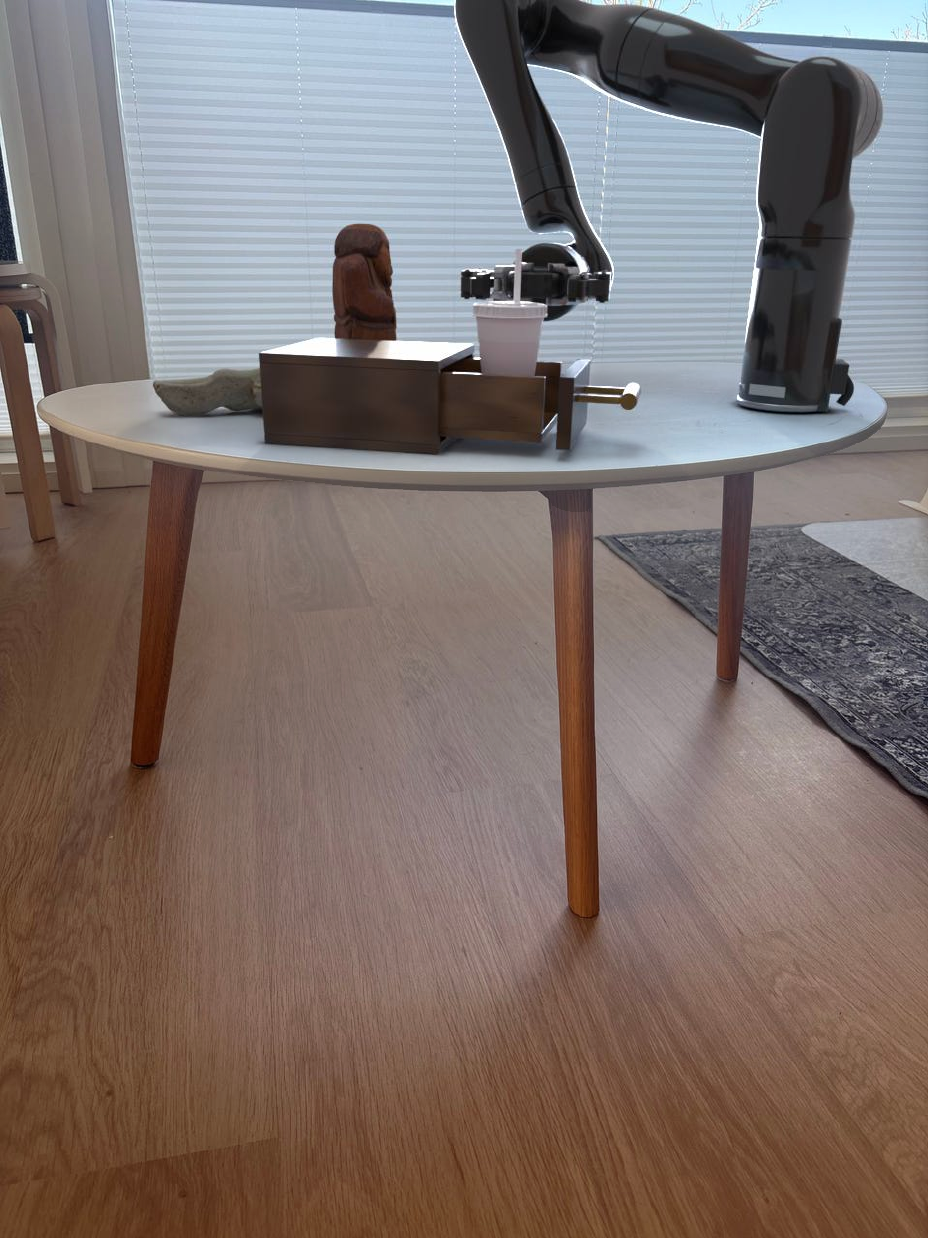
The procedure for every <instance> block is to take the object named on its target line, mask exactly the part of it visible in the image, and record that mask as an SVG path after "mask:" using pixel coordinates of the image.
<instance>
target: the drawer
mask: <svg viewBox="0 0 928 1238" xmlns="http://www.w3.org/2000/svg"><path fill="white" fill-rule="evenodd" d="M562 367H563V361H555V360H553V361H552V360H537V363H536V369H535V376H525V375H504V374H483V373H481V363H480V357H474V358H463V359H461V360H459V361H457V362H455V363H453V364H451V365H449V366H447V367H445V368H443V369H441V370H440V371H441V384H440V437H450V438H457V439H466V440H467V439H468V440H482V441H483V440H487V441H498V442H499V441H501V442H514V443H515V442H516V443H532V444H541V443H542V442H543V441H544V440H545V439H546V437H547V436H548V435H549V433H550V432H551V431H552V429H553V428H554V427H555V425H556V435H555V450H557V451H571V450H572V448H573V447H574V444H575V443H576V442H577V440H578V438H579V436H580V435H581V433H582V431H583V430H584V428H585V426H586V424H587V419H588V403H589V404H604V405H605V404H608V405H620V407H621V408H622V409H623V410H626V411H631V410H633V409H635V408H636V407H637V404H638V402H639V399H640V396H641V393H642V388H641V386H640V385H639V384H638V383H636V382H631V383H628V384H627V385H626V386H625V387H622V386H620V387H619V386H603V385H600V386H599V385H589V384H590V374H591V372H590V371H591V359H581V358H580V359H579V358H577V359H576V360H575V361H574V362H573V363H572V364H571V365H570V366H569V367H568V368H567V369H566V370H565V371H564V372H563V373H562V369H563V368H562Z"/></svg>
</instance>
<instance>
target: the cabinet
mask: <svg viewBox="0 0 928 1238" xmlns="http://www.w3.org/2000/svg"><path fill="white" fill-rule="evenodd" d="M463 358H475V344H474V343H455V342H432V341H410V340H409V341H407V340H406V341H405V340H397V341H385V340H361V339H336V338H335V337H315V338H311V339H308V340H304V341H300V342H296V343H292V344H288V345H284V346H281V347H277V348H273V349H268V350H264V351H261V352H260V351H259V352H258V363H259V368H260V380H261V395H262V409H261V410H262V423H263V425H262V426H263V433H264V434H263V437H264V438H263V439H264V440H263V441H264V444H276V445H289V446H304V447H305V446H307V447H322V448H337V449H353V450H365V451H367V450H368V451H381V452H396V453H397V452H399V453H411V454H428V455H439V454H440V453H441V452H442V451H443V450H445V449H446V448H447V447H448V446H450V445H451V444H452V443H454V441H456V440H457V439H458V438H450V437H440V384H441V371H440V370H441V369H443V368H445V367H447V366H449V365H451V364H453V363H455V362H457V361H459V360H461V359H463Z"/></svg>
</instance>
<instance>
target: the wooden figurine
mask: <svg viewBox="0 0 928 1238" xmlns="http://www.w3.org/2000/svg"><path fill="white" fill-rule="evenodd" d="M333 249H334V252H333V253H334V257H335V258H334V261H333V264H332V285H331V287H332V304H333V311H334V314H333V320H334V322H335V323H334V333H333V334H334V338H336V339H361V340H385V341H398V340H397V339H398V338H397V328H398V327H397V310H396V307H395V303H394V299H393V291H392V289H391V287H392V285H393V278H392V275H393V274H394V269H393V265H392V258H391V251H390V249H391V248H390V241H389V239H388V237H387V235H386V232H385V231H384V230H383V229H382V228H381V227H379V226H378V225H376V224H373V223H351V224H348V225H345V226H344V227H343V228H342V229H341V230H340V231H339V232H338V234H337V235H336V238H335V241H334V248H333Z"/></svg>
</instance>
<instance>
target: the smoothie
mask: <svg viewBox="0 0 928 1238" xmlns="http://www.w3.org/2000/svg"><path fill="white" fill-rule="evenodd" d="M522 252H523V249H522V248H515V249H514V261H515V273H514V301H506V302H505V301H494V300H493V301H491V300H488V301H478V302H474V303H473V304H472V314H471V316H473V317H474V318H475V320H476V330H477V331H476V332H477V342H478V351H479V358H480V363H481V373H483V374H504V375H525V376H535V369H536V363H537V361H538V356H539V349H540V345H541V344H540V343H541V338H542V332H543V323H544V321H543V319H544V318H545V317H547V305H546V304H542V303H535V302H524V301H520V290H521V262H522Z"/></svg>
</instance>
